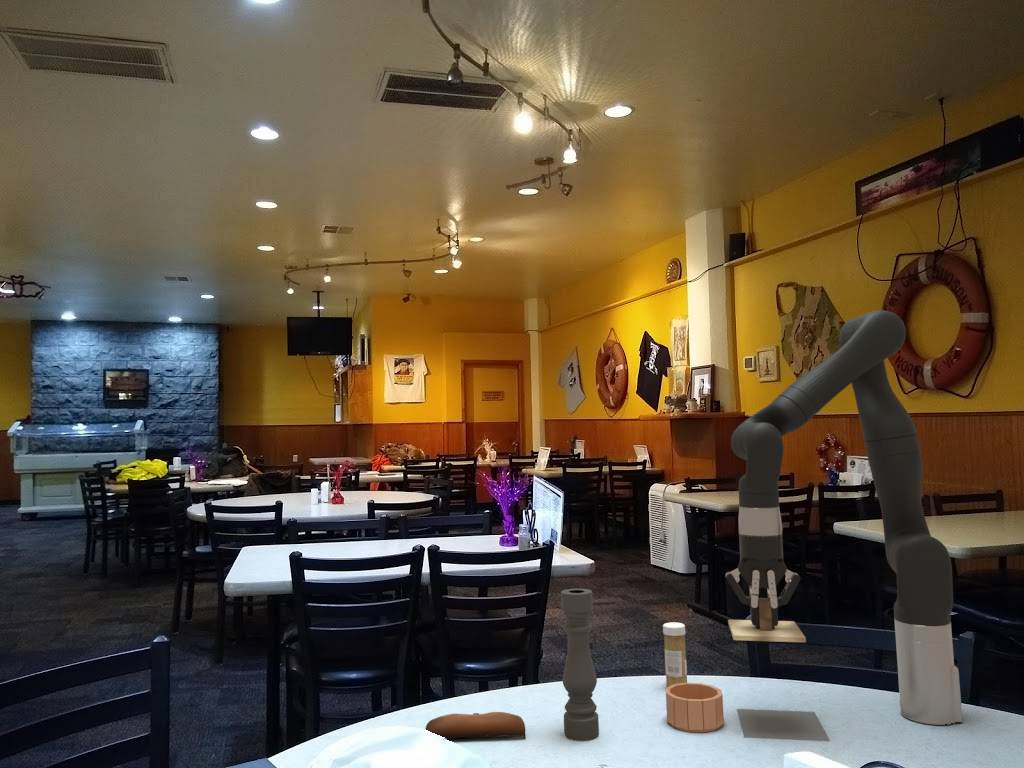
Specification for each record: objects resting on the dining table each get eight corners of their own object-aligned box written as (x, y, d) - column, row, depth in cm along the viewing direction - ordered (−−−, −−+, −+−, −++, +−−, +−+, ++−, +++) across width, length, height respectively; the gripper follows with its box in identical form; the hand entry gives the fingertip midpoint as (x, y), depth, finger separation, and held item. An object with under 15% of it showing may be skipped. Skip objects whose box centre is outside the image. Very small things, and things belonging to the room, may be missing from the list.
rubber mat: (814, 714, 141) (814, 711, 141) (830, 743, 127) (830, 741, 128) (736, 711, 144) (736, 708, 144) (744, 739, 130) (744, 737, 130)
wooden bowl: (721, 716, 142) (719, 683, 142) (725, 737, 132) (724, 701, 132) (667, 714, 144) (665, 682, 144) (667, 734, 134) (665, 699, 134)
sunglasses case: (524, 721, 142) (524, 695, 139) (526, 754, 135) (526, 728, 132) (428, 725, 141) (426, 700, 138) (425, 758, 135) (423, 732, 132)
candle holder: (603, 730, 136) (598, 589, 138) (592, 743, 131) (587, 595, 133) (571, 725, 139) (566, 587, 141) (559, 738, 133) (554, 593, 135)
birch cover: (794, 625, 142) (792, 594, 142) (805, 642, 130) (804, 608, 131) (728, 623, 144) (726, 592, 145) (733, 640, 133) (732, 606, 133)
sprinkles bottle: (692, 689, 157) (689, 623, 158) (680, 695, 154) (676, 627, 155) (673, 685, 160) (670, 620, 161) (661, 690, 157) (658, 624, 158)
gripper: (796, 529, 141) (801, 624, 140) (720, 529, 144) (723, 622, 142) (803, 534, 134) (808, 634, 132) (722, 533, 136) (727, 632, 135)
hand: (764, 627), depth 137 cm, fingers closed on birch cover
